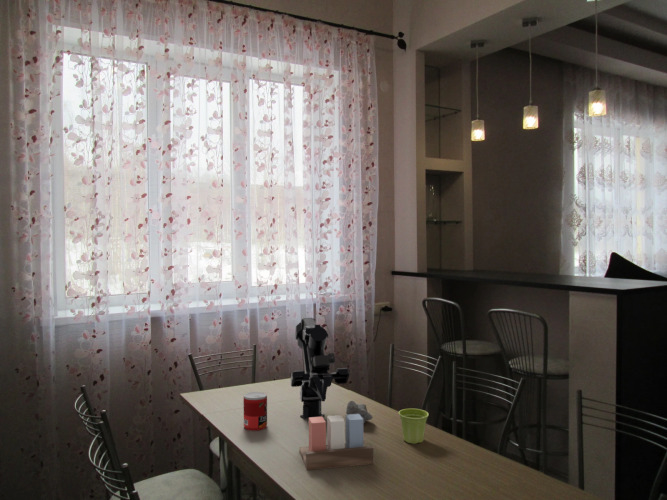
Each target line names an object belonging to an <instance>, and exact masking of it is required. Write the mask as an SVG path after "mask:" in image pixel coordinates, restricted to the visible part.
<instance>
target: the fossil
mask: <svg viewBox="0 0 667 500" xmlns="http://www.w3.org/2000/svg"><path fill="white" fill-rule="evenodd" d="M345 413H346V414H345V415H349V414H359V415H360V416H361V417H362V418H363V424H364V423H365V422H366V421H370V420H373V415H372V414H371V413H370V412H368V409H367V405H366V404H364V403H356V402H355V400H350V401H349V402H348V403H347V405H346V412H345Z"/></svg>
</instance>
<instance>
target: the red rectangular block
mask: <svg viewBox="0 0 667 500" xmlns="http://www.w3.org/2000/svg"><path fill="white" fill-rule="evenodd" d="M326 426H327V421H326V420H325V418H324V417H309V419H308V446H309V452H310V451H321V450H326V445H327V444H326V443H327V433H326V431H327V427H326Z"/></svg>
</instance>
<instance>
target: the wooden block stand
mask: <svg viewBox="0 0 667 500" xmlns="http://www.w3.org/2000/svg"><path fill="white" fill-rule="evenodd" d="M363 446H364V447H355V448H346V442H345V448H343V449H332V450H327V444H326V450H321V451H310V452H309V445H307V446H300V447H299V454H300V457H301V460H302V462H303V465H304V467H305V469H306V471H313V470H314V471H315V470H323V469H334V468H343V467H354V466H363V465H374V447H373V446H372V445H369V446H368V445H367V446H365V445H364V444H363Z"/></svg>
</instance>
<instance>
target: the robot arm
mask: <svg viewBox="0 0 667 500" xmlns="http://www.w3.org/2000/svg"><path fill="white" fill-rule="evenodd" d="M294 333H295V334H294V336H295V337H294V338H295V340H296V341H297V346H298V347H299V348H300V349H301V350H302V357H303V359H302V360H303V365H304V366H303V367H304V369H303V370H302V369H301V370H298V369H297V370H293V371H292V372H291V374H290V375H291V377H290V386H291V387H292V388H295V387H297V388H298V387H300V391H299V396H300V397H299V399H300V401H301V403H303V405H302V414H301V415H299V417H300V418H303V419H306V420H309V417H323V418H324V417H326V415H325V414H323V413H322V402H325V401H326V399H327V391H328V388H330V387H331V386H332V383H333V380H334V383H336V384H338V385H344V384H345V385H346V384H347V383H348V381H349V377H350V375H351V374H350V369H348V368H347V367H338V368H335V369H336V370H335V372H329V371H330V366H331V365H334V364H335V363H336V356H335V353H333V352H331V353H328V354H327V355H326V352H325V348H326V345H327V339H328V338H329V333H328V331H327V330H326V329H325V328H324V326H323V325H321V324H317V323H316V319H315V318H313V317H302V318H301V319H300V322H299V323H297V325H296V326H295V330H294Z"/></svg>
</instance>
